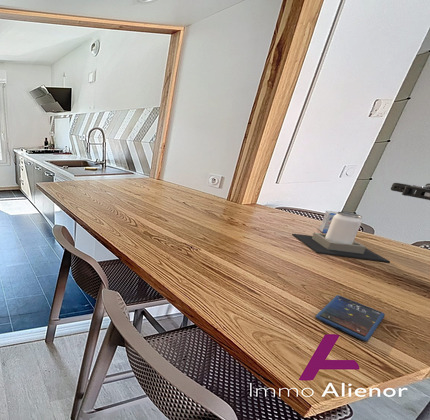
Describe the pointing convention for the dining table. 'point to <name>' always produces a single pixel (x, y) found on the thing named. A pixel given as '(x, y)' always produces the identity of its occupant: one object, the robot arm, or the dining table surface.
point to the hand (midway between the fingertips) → (409, 186)
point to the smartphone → (351, 317)
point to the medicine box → (327, 221)
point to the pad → (338, 248)
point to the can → (344, 227)
